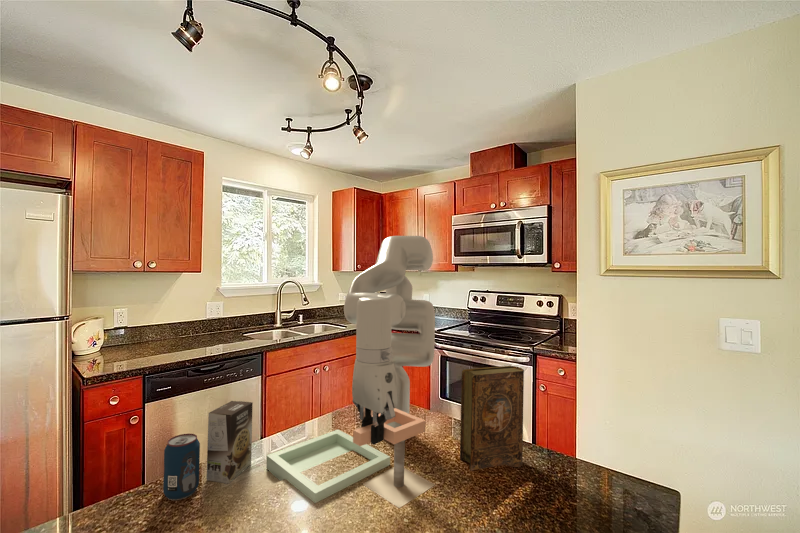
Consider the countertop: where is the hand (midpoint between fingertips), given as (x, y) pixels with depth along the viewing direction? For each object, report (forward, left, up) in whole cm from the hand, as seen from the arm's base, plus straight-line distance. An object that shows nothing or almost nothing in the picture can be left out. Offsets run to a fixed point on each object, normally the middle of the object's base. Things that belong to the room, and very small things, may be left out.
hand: (372, 439), depth 79 cm
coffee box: (+16, -34, -15) cm, 41 cm away
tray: (-2, -18, -14) cm, 23 cm away
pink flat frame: (-4, 0, 0) cm, 4 cm away
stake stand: (-8, 0, -14) cm, 16 cm away
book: (-34, +10, -15) cm, 38 cm away
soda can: (+27, -33, -15) cm, 45 cm away
